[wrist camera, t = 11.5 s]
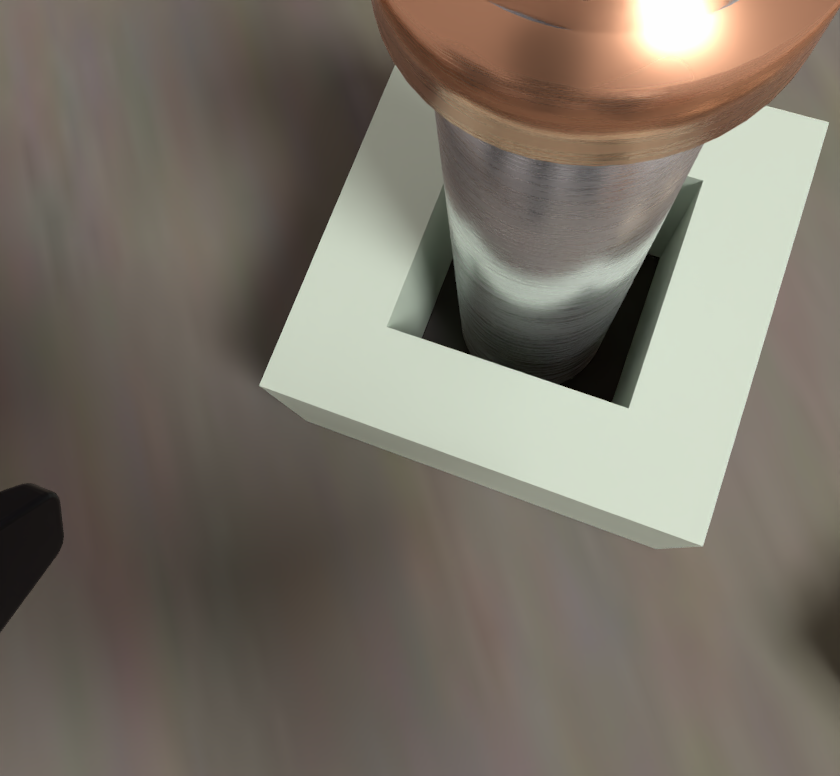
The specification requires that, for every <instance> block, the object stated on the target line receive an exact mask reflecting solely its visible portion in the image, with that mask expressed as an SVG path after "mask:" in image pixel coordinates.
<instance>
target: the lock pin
mask: <svg viewBox="0 0 840 776" xmlns="http://www.w3.org/2000/svg"><path fill="white" fill-rule="evenodd" d="M371 1H372V6H373V11H374V15H375V18H376V21H377V24H378V28H379V31H380V34H381V37H382V40H383V42H384V44H385V46H386V48H387V50H388V52H389V54H390V56H391V58H392V60H393V62H394V63H395V65H396V66H397V68H398V69H399V71H400V72H401V73H402V75H403V76H404V78H405V79H406V81H407V82H408V84H409V85H410V86H411V87H412V88H413V89H414V90H415V91H416V92H417V93H418V94H419V95H420V97H421V98H422V99H423V100H424V101H425V102H426V103H427V104H428V105H429V106H431V107H432V108H433V109H434V110H435V118H436V126H437V134H438V142H439V150H440V158H441V166H442V174H443V182H444V190H445V198H446V206H447V214H448V222H449V230H450V238H451V246H452V254H453V262H454V270H455V278H456V286H457V294H458V302H459V310H460V318H461V326H462V332H463V337H464V340H465V343H466V346H467V348H468V350H469V352H470V354H471V355H472V356H475V357H478V358H481V359H484V360H487V361H490V362H493V363H495V364H498V365H501V366H504V367H507V368H510V369H513V370H516V371H519V372H522V373H525V374H528V375H531V376H534V377H537V378H540V379H543V380H546V381H549V382H552V383H555V384H560V383H563V382H565V381H567V380H569V379H571V378H572V377H574V376H576V375H577V374H578V373H579V372H581V371H582V370H583V369H584V368H585V367H586V366H587V365H588V364H589V363H590V361H591V360H592V358H593V357H594V356H595V354H596V352H597V350H598V348H599V346H600V344H601V342H602V340H603V338H604V337H605V335H606V333H607V331H608V329H609V327H610V325H611V323H612V321H613V319H614V317H615V315H616V313H617V311H618V309H619V307H620V306H621V304H622V302H623V300H624V298H625V296H626V294H627V292H628V290H629V288H630V286H631V284H632V282H633V280H634V278H635V276H636V275H637V273H638V271H639V269H640V267H641V265H642V263H643V261H644V259H645V257H646V255H647V253H648V251H649V249H650V247H651V245H652V243H653V242H654V240H655V238H656V236H657V234H658V232H659V230H660V228H661V226H662V224H663V222H664V220H665V218H666V216H667V214H668V212H669V211H670V209H671V207H672V205H673V203H674V201H675V199H676V197H677V195H678V193H679V191H680V189H681V187H682V185H683V183H684V181H685V180H686V178H687V176H688V174H689V172H690V170H691V168H692V166H693V164H694V162H695V160H696V158H697V156H698V154H699V152H700V150H701V149H702V147H703V145H704V143H706V142H709V141H711V140H713V139H716V138H718V137H720V136H722V135H723V134H725V133H727V132H728V131H730V130H732V129H733V128H735V127H737V126H739V125H740V124H742V123H744V122H745V121H747V120H748V119H749V118H751V117H752V116H753V115H755V114H756V113H757V112H758V111H760V110H761V109H762V108H763V107H765V106H766V105H767V104H768V103H770V102H771V101H772V100H773V99H774V98H775V97H776V96H777V95H778V94H779V93H780V92H781V91H782V90H783V89H784V88H785V86H786V85H787V84H788V83H789V82H790V81H791V80H792V79H793V78H794V76H795V75H796V73H797V72H798V71H799V69H800V68H801V67H802V65H803V64H804V62H805V61H806V60H807V58H808V57H809V55H810V54H811V52H812V51H813V49H814V47H815V46H816V44H817V43H818V41H819V40H820V38H821V36H822V35H823V33H824V32H825V30H826V29H827V27H828V25H829V24H830V22H831V21H832V19H833V18H834V16H835V14H836V13H837V11H838V10H839V8H840V0H371Z"/></svg>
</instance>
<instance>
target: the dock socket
mask: <svg viewBox="0 0 840 776" xmlns="http://www.w3.org/2000/svg"><path fill="white" fill-rule="evenodd" d="M828 124H829V122H825V121H822V120H818V119H814V118H810V117H806V116H803V115H799V114H795V113H791V112H787V111H784V110H780V109H776V108H772V107H768V106H765V107H763V108H762V109H761V110H760V111H758V112H757V113H756V114H755V115H753V116H752V117H751V118H749V119H748V120H747V121H745V122H744V123H742V124H740V125H739V126H737V127H735V128H733V129H732V130H730V131H728V132H727V133H725V134H723V135H722V136H720V137H718V138H716V139H713V140H711V141H709V142H706V143H704V145H703V147H702V149H701V150H700V152H699V154H698V156H697V158H696V160H695V162H694V164H693V166H692V168H691V170H690V172H689V174H688V176H687V178H686V180H685V181H684V183H683V185H682V187H681V189H680V191H679V193H678V195H677V197H676V199H675V201H674V203H673V205H672V207H671V209H670V211H669V212H668V214H667V216H666V218H665V220H664V222H663V224H662V226H661V228H660V230H659V232H658V234H657V236H656V238H655V240H654V242H653V243H652V245H651V247H650V249H649V251H648V253H647V254H650V255H653V256H656V257H660V259H659V262H658V265H657V268H656V271H655V274H654V277H653V280H652V283H651V286H650V289H649V292H648V295H647V298H646V301H645V304H644V307H643V310H642V313H641V316H640V319H639V322H638V325H637V328H636V331H635V334H634V337H633V340H632V343H631V346H630V349H629V352H628V355H627V358H626V361H625V364H624V367H623V370H622V373H621V376H620V379H619V382H618V385H617V388H616V391H615V394H614V397H613V400H612V403H611V402H608V401H605V400H602V399H599V398H596V397H593V396H590V395H587V394H584V393H581V392H578V391H575V390H573V389H570V388H567V387H564V386H561V385H558V384H555V383H552V382H549V381H546V380H543V379H540V378H537V377H534V376H531V375H528V374H525V373H522V372H519V371H516V370H513V369H510V368H507V367H504V366H501V365H498V364H495V363H493V362H490V361H487V360H484V359H481V358H478V357H475V356H472V355H469V354H466V353H463V352H460V351H457V350H454V349H451V348H448V347H445V346H442V345H439V344H436V343H433V342H430V341H427V340H424V339H422V336H423V334H424V331H425V328H426V326H427V323H428V321H429V318H430V316H431V313H432V310H433V308H434V305H435V303H436V300H437V297H438V295H439V292H440V290H441V287H442V285H443V282H444V279H445V277H446V274H447V272H448V269H449V266H450V264H451V261H452V259H453V254H452V246H451V238H450V230H449V222H448V214H447V206H446V198H445V190H444V182H443V174H442V166H441V158H440V150H439V142H438V134H437V126H436V118H435V110H434V109H433V108H432V107H431V106H429V105H428V104H427V103H426V102H425V101H424V100H423V99H422V98H421V97H420V95H419V94H418V93H417V92H416V91H415V90H414V89H413V88H412V87H411V86H410V85H409V84H408V82H407V81H406V79H405V78H404V76H403V75H402V73H401V72H400V71H399V69H398V68H397V66H396V65H395V66H394V69H393V71H392V73H391V76H390V78H389V80H388V83H387V85H386V87H385V90H384V92H383V95H382V97H381V99H380V102H379V104H378V106H377V109H376V111H375V113H374V116H373V118H372V121H371V123H370V125H369V128H368V130H367V132H366V135H365V137H364V139H363V142H362V144H361V146H360V149H359V151H358V154H357V156H356V158H355V161H354V163H353V165H352V168H351V170H350V172H349V175H348V177H347V179H346V182H345V184H344V187H343V189H342V191H341V194H340V196H339V198H338V201H337V203H336V205H335V208H334V210H333V213H332V215H331V217H330V220H329V222H328V224H327V227H326V229H325V231H324V234H323V236H322V238H321V241H320V243H319V246H318V248H317V250H316V253H315V255H314V257H313V260H312V262H311V264H310V267H309V269H308V272H307V274H306V276H305V279H304V281H303V283H302V286H301V288H300V290H299V293H298V295H297V297H296V300H295V302H294V305H293V307H292V309H291V312H290V314H289V316H288V319H287V321H286V323H285V326H284V328H283V331H282V333H281V335H280V338H279V340H278V342H277V345H276V347H275V349H274V352H273V354H272V356H271V359H270V361H269V364H268V366H267V368H266V371H265V373H264V375H263V378H262V380H261V382H260V385H259V386H260V387H262V388H263V389H264V390H266V391H267V392H268V393H270V394H271V395H272V396H274V397H275V398H276V399H278V400H279V401H280V402H282V403H283V404H284V405H286V406H287V407H288V408H290V409H291V410H292V411H294V412H295V413H296V414H298V415H299V416H300V417H302V418H303V419H304V420H306V421H308V422H310V423H313V424H316V425H319V426H321V427H324V428H327V429H330V430H332V431H335V432H338V433H340V434H343V435H346V436H349V437H351V438H354V439H357V440H360V441H362V442H365V443H368V444H370V445H373V446H376V447H379V448H381V449H384V450H387V451H390V452H392V453H395V454H398V455H400V456H403V457H406V458H409V459H411V460H414V461H417V462H420V463H422V464H425V465H428V466H431V467H433V468H436V469H439V470H441V471H444V472H447V473H450V474H452V475H455V476H458V477H461V478H463V479H466V480H469V481H471V482H474V483H477V484H480V485H482V486H485V487H488V488H491V489H493V490H496V491H499V492H501V493H504V494H507V495H510V496H512V497H515V498H518V499H521V500H523V501H526V502H529V503H531V504H534V505H537V506H540V507H542V508H545V509H548V510H551V511H553V512H556V513H559V514H562V515H564V516H567V517H570V518H572V519H575V520H578V521H581V522H583V523H586V524H589V525H592V526H594V527H597V528H600V529H602V530H605V531H608V532H611V533H613V534H616V535H619V536H622V537H624V538H627V539H630V540H632V541H635V542H638V543H641V544H643V545H646V546H649V547H652V548H654V549H664V548H682V547H700V546H703V544H704V541H705V537H706V534H707V531H708V527H709V524H710V521H711V517H712V514H713V511H714V507H715V504H716V501H717V497H718V494H719V490H720V487H721V484H722V480H723V477H724V474H725V470H726V467H727V464H728V460H729V457H730V454H731V450H732V447H733V443H734V440H735V437H736V433H737V430H738V427H739V423H740V420H741V417H742V413H743V410H744V407H745V403H746V400H747V396H748V393H749V390H750V386H751V383H752V380H753V376H754V373H755V370H756V366H757V363H758V360H759V356H760V353H761V349H762V346H763V343H764V339H765V336H766V333H767V329H768V326H769V323H770V319H771V316H772V312H773V309H774V306H775V302H776V299H777V296H778V292H779V289H780V286H781V282H782V279H783V276H784V272H785V269H786V265H787V262H788V259H789V255H790V252H791V249H792V245H793V242H794V239H795V235H796V232H797V229H798V225H799V222H800V218H801V215H802V212H803V208H804V205H805V202H806V198H807V195H808V192H809V188H810V185H811V182H812V178H813V175H814V171H815V168H816V165H817V161H818V158H819V155H820V151H821V148H822V145H823V141H824V138H825V134H826V131H827V128H828Z"/></svg>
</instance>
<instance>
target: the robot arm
mask: <svg viewBox="0 0 840 776" xmlns="http://www.w3.org/2000/svg"><path fill="white" fill-rule="evenodd" d="M63 538H64V533H63V524H62V515H61V506H60V500H59V497H58V496H57V494H56V493H54V492H52V491H50V490H47V489H45V488H42V487H40V486H38V485H35V484H30V483H27V484H21V485H18V486H15V487H12V488H9V489H6V490H4V491H1V492H0V632H1V631H2V629H3V628H4V627H5V625H6V624H7V623H8V621H9V620H10V619H11V617H12V616H13V614H14V613H15V612H16V610H17V609H18V608H19V606H20V605H21V604H22V602H23V601H24V599H25V598H26V597H27V595H28V594H29V593H30V591H31V590H32V589H33V587H34V586H35V585H36V583H37V582H38V580H39V579H40V578H41V576H42V575H43V574H44V572H45V571H46V570H47V568H48V567H49V565H50V564H51V563H52V561H53V560H54V559H55V557H56V556H57V554H58V553H59V551H60V549H61V546H62V544H63Z"/></svg>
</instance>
